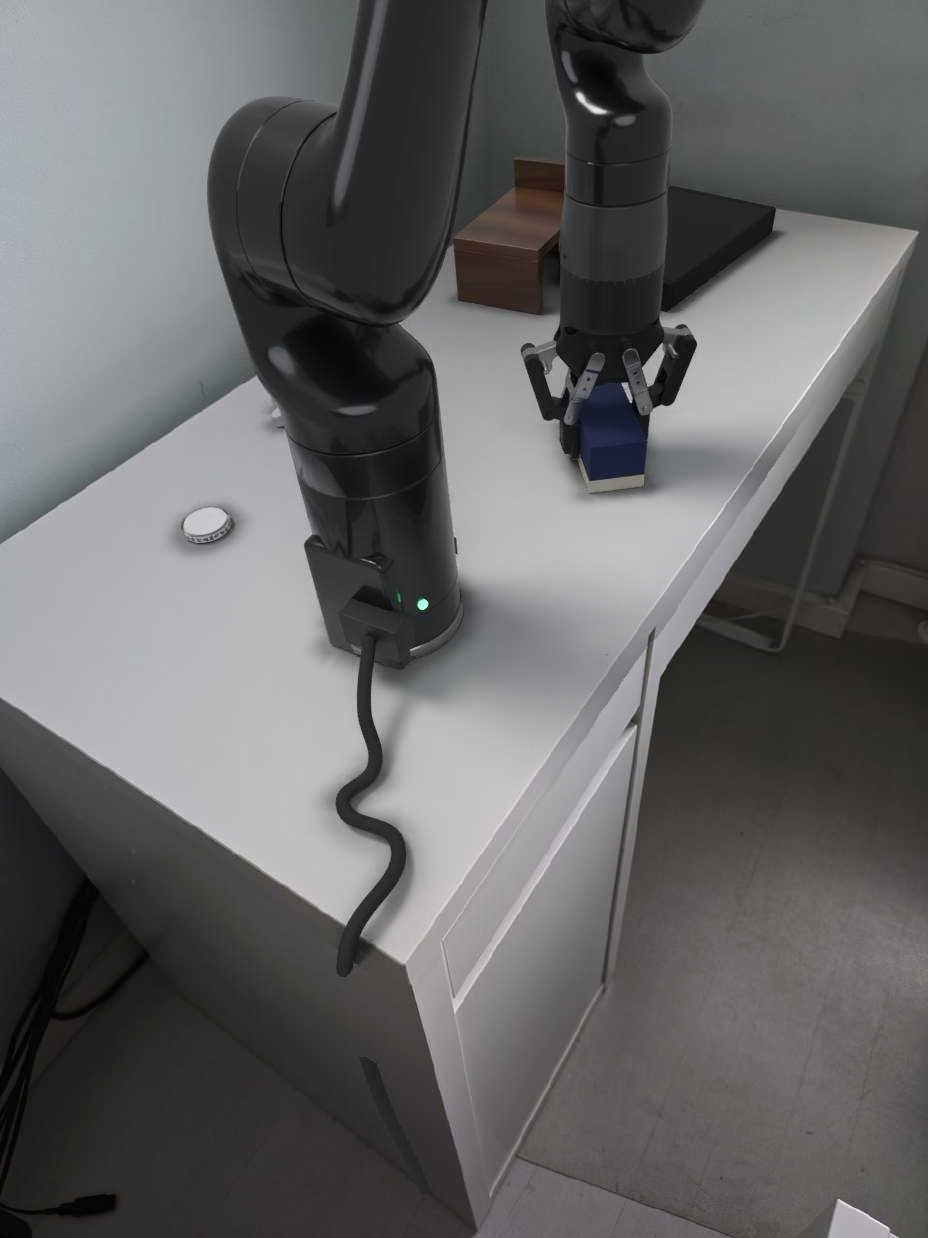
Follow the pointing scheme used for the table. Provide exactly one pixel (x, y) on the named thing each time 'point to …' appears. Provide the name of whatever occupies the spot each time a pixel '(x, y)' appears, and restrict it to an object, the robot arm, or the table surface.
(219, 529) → the white bottle cap
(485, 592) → the table surface
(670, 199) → the external hard drive
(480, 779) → the table surface
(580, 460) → the whiteboard eraser
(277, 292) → the robot arm
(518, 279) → the shelf
